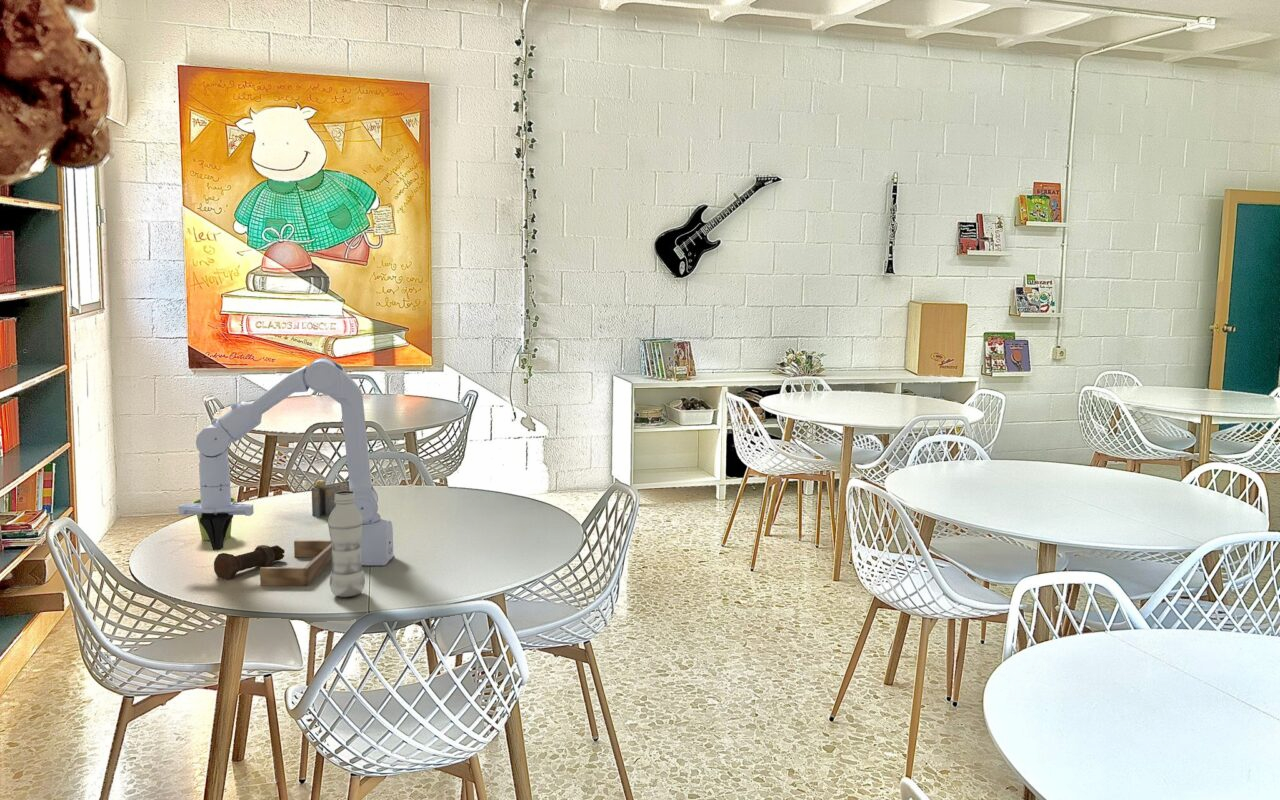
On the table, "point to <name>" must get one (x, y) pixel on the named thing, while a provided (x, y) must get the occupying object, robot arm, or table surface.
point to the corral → (300, 574)
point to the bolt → (246, 561)
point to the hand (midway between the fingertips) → (217, 549)
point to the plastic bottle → (346, 546)
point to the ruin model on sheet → (326, 496)
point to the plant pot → (202, 530)
